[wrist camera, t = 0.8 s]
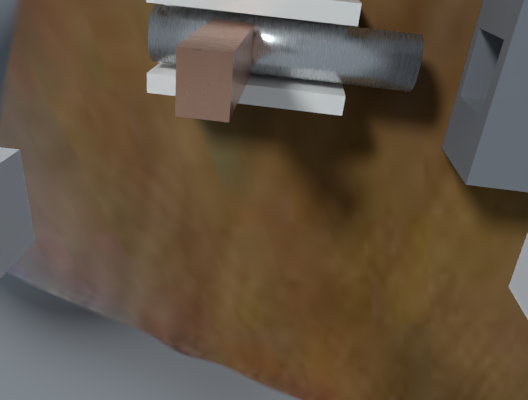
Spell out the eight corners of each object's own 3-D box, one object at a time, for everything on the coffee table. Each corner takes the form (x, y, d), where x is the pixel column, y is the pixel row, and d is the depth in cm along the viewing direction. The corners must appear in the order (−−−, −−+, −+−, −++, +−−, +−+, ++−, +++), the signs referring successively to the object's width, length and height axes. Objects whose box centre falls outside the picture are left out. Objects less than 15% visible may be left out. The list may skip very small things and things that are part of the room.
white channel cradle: (168, -26, 32) (146, -21, 28) (354, -5, 32) (361, 3, 27) (167, 74, 35) (146, 92, 31) (337, 94, 35) (342, 115, 30)
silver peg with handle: (163, 1, 32) (85, 30, 21) (415, 30, 31) (473, 75, 20) (162, 55, 33) (90, 110, 22) (403, 84, 33) (451, 153, 22)
